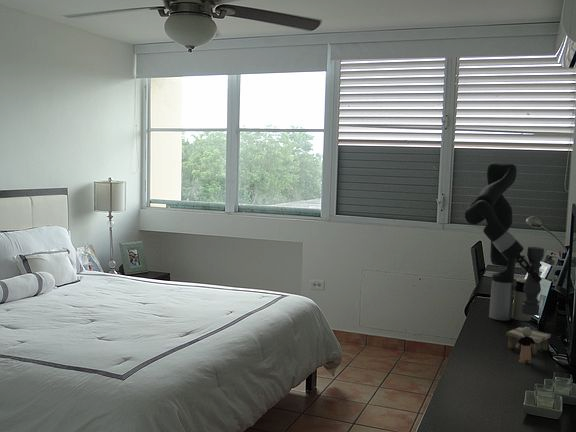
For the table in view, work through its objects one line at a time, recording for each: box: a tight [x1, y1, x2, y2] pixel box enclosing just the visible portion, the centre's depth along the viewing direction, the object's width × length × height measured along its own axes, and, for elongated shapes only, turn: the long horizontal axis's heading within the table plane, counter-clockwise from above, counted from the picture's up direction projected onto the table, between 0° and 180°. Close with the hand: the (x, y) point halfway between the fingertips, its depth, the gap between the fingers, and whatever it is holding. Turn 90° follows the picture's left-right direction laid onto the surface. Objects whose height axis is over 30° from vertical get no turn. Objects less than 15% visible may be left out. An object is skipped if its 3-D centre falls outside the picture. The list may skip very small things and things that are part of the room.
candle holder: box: [521, 246, 545, 316], centre depth 228 cm, size 6×6×25 cm
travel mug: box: [511, 278, 532, 322], centre depth 275 cm, size 8×8×18 cm
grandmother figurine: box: [515, 326, 536, 364], centre depth 214 cm, size 8×4×13 cm, turn 111°
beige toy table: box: [505, 326, 552, 356], centre depth 231 cm, size 12×12×6 cm
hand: (538, 279), depth 228 cm, fingers closed on candle holder, 4 cm apart
